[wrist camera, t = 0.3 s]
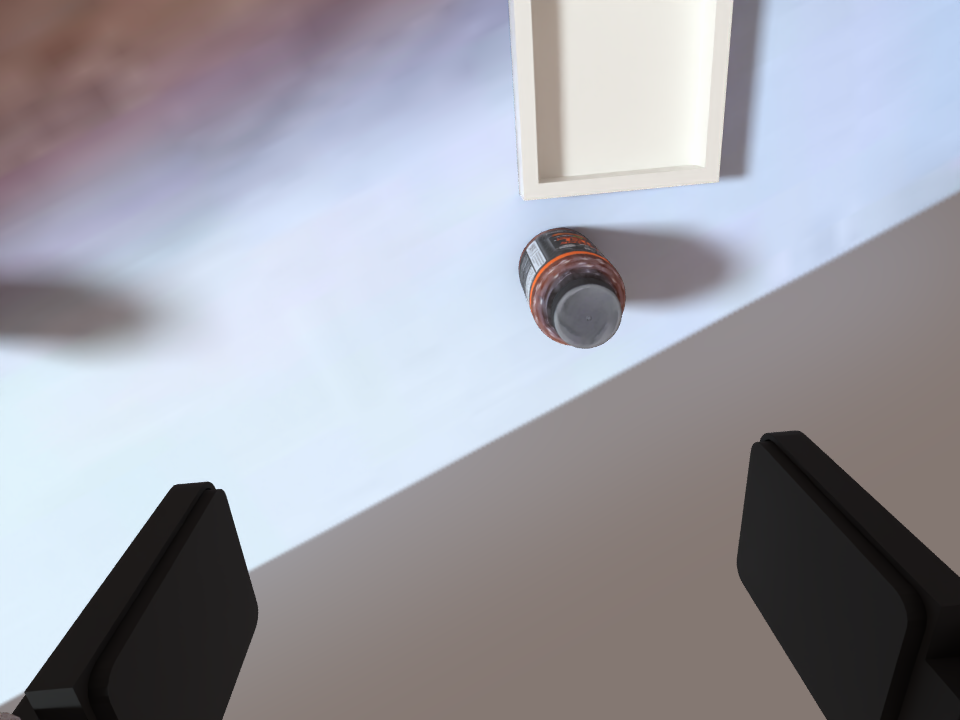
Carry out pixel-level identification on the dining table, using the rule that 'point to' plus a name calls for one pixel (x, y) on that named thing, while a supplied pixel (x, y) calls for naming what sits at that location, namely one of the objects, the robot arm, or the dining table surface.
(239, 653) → the robot arm
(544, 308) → the supplement bottle
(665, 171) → the tray
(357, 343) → the dining table surface
